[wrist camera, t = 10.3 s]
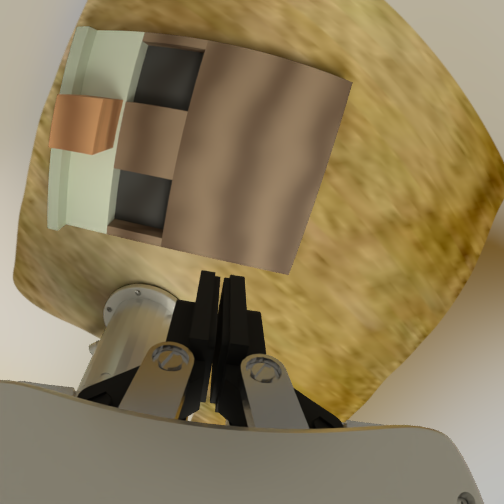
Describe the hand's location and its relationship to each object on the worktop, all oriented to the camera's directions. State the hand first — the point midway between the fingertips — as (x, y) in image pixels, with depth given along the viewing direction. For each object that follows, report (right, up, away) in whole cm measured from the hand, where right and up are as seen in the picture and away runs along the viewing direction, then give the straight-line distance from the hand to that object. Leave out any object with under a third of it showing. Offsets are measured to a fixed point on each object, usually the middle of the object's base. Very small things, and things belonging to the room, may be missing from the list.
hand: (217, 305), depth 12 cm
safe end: (-15, +15, +17) cm, 27 cm away
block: (-14, +15, +14) cm, 25 cm away
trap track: (-2, +13, +19) cm, 23 cm away
